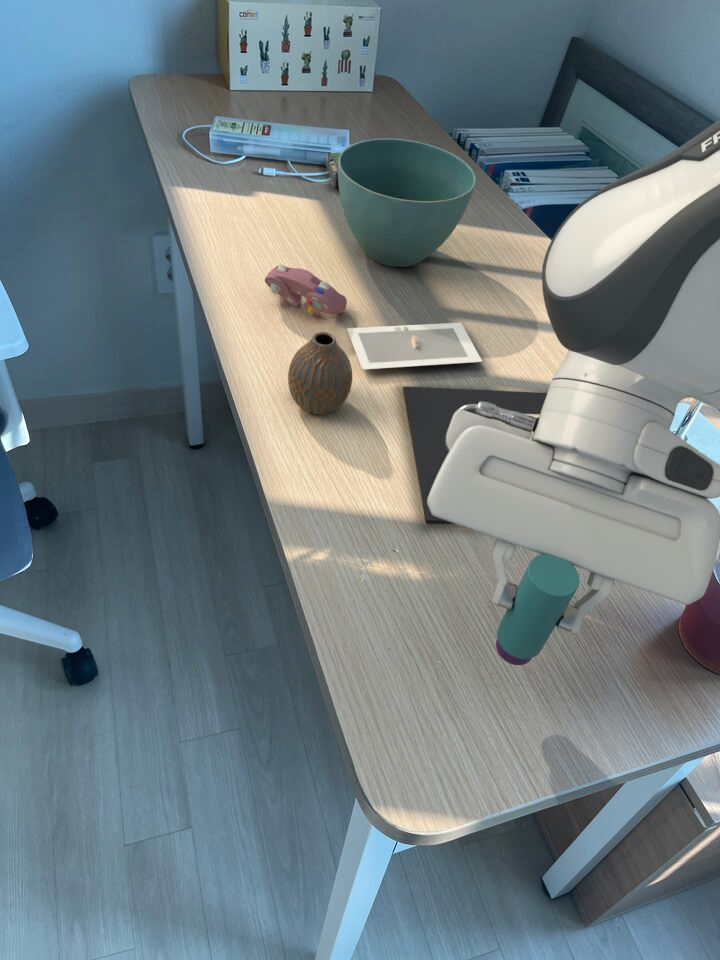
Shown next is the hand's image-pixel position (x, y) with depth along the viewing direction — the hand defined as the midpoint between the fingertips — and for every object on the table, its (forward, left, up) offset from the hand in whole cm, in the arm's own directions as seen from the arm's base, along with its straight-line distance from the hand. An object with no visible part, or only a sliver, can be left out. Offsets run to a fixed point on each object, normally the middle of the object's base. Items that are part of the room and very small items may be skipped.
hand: (533, 617), depth 55 cm
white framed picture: (+2, -44, -11) cm, 46 cm away
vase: (+14, -34, -11) cm, 39 cm away
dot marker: (0, -1, -5) cm, 5 cm away
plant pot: (+2, -67, -11) cm, 68 cm away
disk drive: (+3, -90, -11) cm, 91 cm away
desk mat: (-8, -27, -11) cm, 31 cm away
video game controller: (+15, -52, -11) cm, 56 cm away
